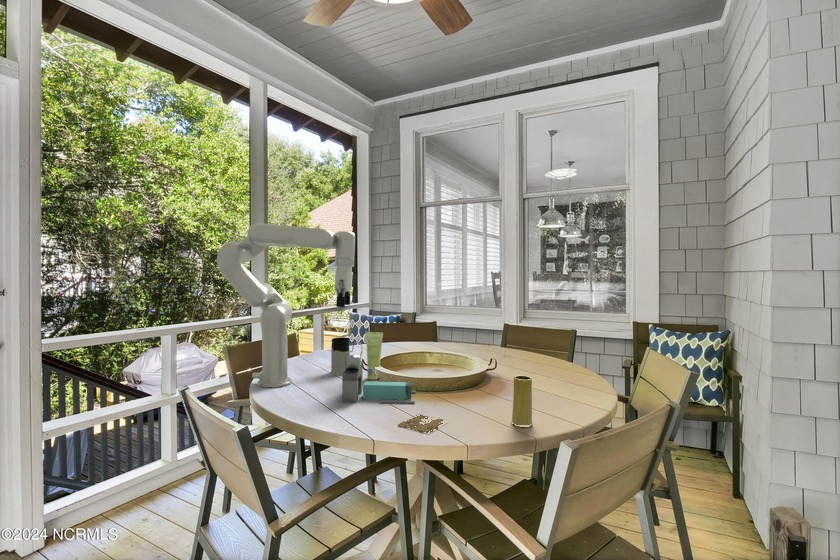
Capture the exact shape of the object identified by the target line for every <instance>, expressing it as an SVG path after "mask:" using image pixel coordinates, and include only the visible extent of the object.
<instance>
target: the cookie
mask: <svg viewBox="0 0 840 560" xmlns="http://www.w3.org/2000/svg"><path fill="white" fill-rule="evenodd" d="M415 415H416V416H417V414H415ZM419 415H420V416H417V417H414V418H412V419H409V418H408V419H409V420H407V419H406V420H407V421H406V422H405V420H403V421H401V422H399V423H400V424H399V423H397V424H398V426H401V427H400V428H402V427H404V428H403V429H406V428H410V429H414V430H417V431H420V432H419V433H421V432H426V433H428V432H429V431H430V433H431V432H432V431H433V430H434V429H437V428H438V426H439V425H441V424H443V423H441V421H443V420H444V419H442V418H438V419H436V420H432V419H431V420H432V421H431V422H430V423H427V424H424V425H423V424H420V423H419V422H422V421H421V419H424V418H425V417H427V418H425V419H428V417H429V415H425V416H423V415H424V414H419ZM425 422H426V421H425ZM428 422H429V421H428ZM439 423H440V424H439ZM398 426H397V427H398ZM415 426H416V427H415ZM431 430H432V431H431ZM437 430H438V429H437ZM417 431H416V432H417ZM431 434H432V433H431Z"/></svg>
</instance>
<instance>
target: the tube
mask: <svg viewBox="0 0 840 560" xmlns="http://www.w3.org/2000/svg"><path fill="white" fill-rule="evenodd" d="M364 335H365V340H366V360H367V361H366V362H367V363H366V367H367V371H366V372H367V379H368V380H372V381H373V380H375V381H376V380H378V379H377V377H376V374H375V371H374V368H375V367H380V368H381V358H382V357H381V356H382V355H381V354H382V344H383V338H384V332H382V331H381V332H378V331H377V332H376V331H375V332H374V331H365V334H364Z"/></svg>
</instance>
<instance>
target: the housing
mask: <svg viewBox="0 0 840 560" xmlns="http://www.w3.org/2000/svg"><path fill="white" fill-rule="evenodd" d="M360 355H361V354H356V355H355V354H350V355H346V356H345V369H346V370H345V371H344V372H343V373H342V375H341V377H342V378H341V380H342V384H341V387H342V388H341V391H342V392H341V396H342V397H341V402H342V403H358V401H359V395H361V394H363V371H364V370H363V365H362V355H361V356H360Z"/></svg>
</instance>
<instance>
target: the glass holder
mask: <svg viewBox="0 0 840 560" xmlns="http://www.w3.org/2000/svg"><path fill="white" fill-rule="evenodd" d="M356 344H359V345H360V347H361V349H360V350H361V352H360V354H359V355H360V356H361V357H362V354H363V344H362V343H361V342H354V343H353V344H352V350H350V338H349V337H344V336H342V337H341V336H339V337H332V338H331V347H330V348H331V349H330V350H331V352H330V353H331V361H330V362H331V363H330V364H331V365H330V367H331V369H330V375H331V374H332V376H341V377H342V373H343V372H344V371H345V370H346V369H345V356H346V355H351V353H352V352H354V347H355V345H356Z"/></svg>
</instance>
